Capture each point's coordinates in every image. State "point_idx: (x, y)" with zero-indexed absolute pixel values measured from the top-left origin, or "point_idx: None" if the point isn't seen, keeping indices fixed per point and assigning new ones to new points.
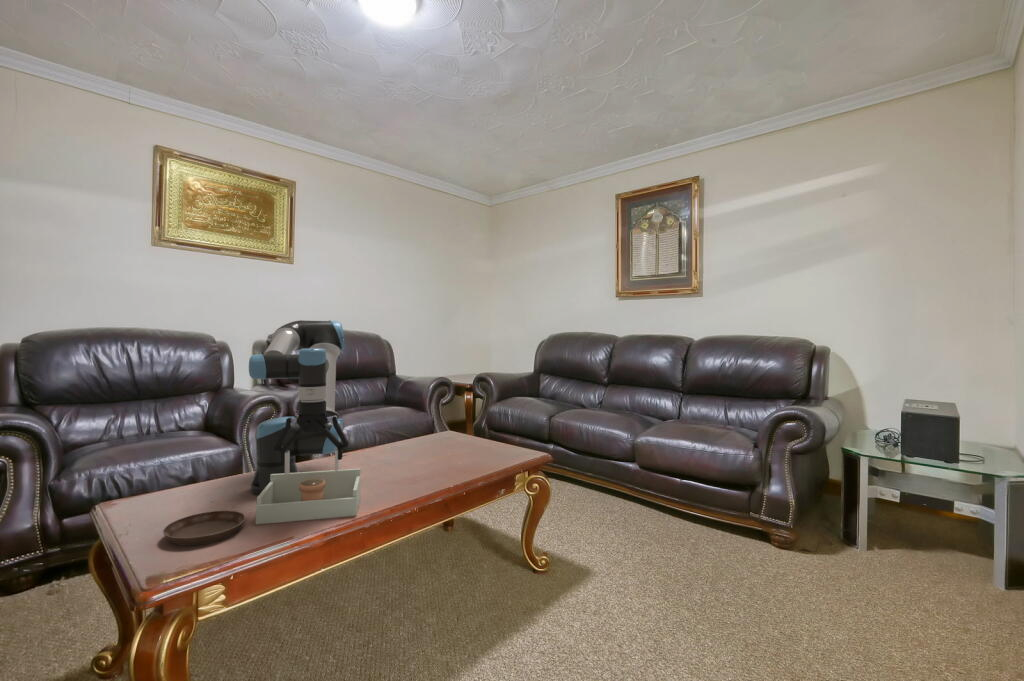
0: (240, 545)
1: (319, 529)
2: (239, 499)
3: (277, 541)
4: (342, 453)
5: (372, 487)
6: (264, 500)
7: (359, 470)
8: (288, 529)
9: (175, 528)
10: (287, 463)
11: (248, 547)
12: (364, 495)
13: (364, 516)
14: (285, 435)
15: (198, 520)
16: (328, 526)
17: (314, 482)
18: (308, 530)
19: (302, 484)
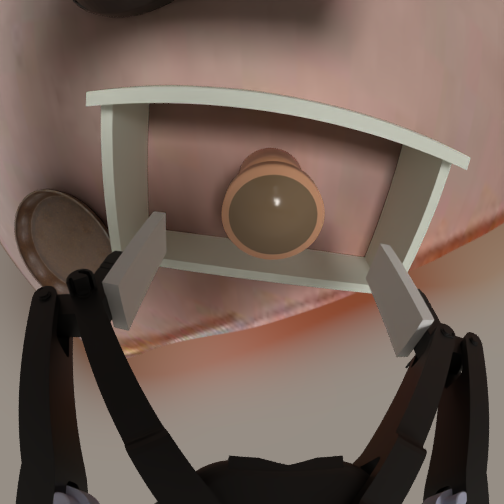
0: (151, 313)
1: (283, 303)
2: (61, 44)
3: (208, 321)
4: (431, 309)
5: (454, 71)
6: (128, 219)
7: (462, 167)
8: (220, 284)
9: (25, 231)
10: (148, 286)
11: (167, 323)
12: (426, 128)
13: None
14: (76, 419)
15: (34, 200)
16: (302, 297)
17: (281, 221)
18: (261, 301)
19: (234, 229)
